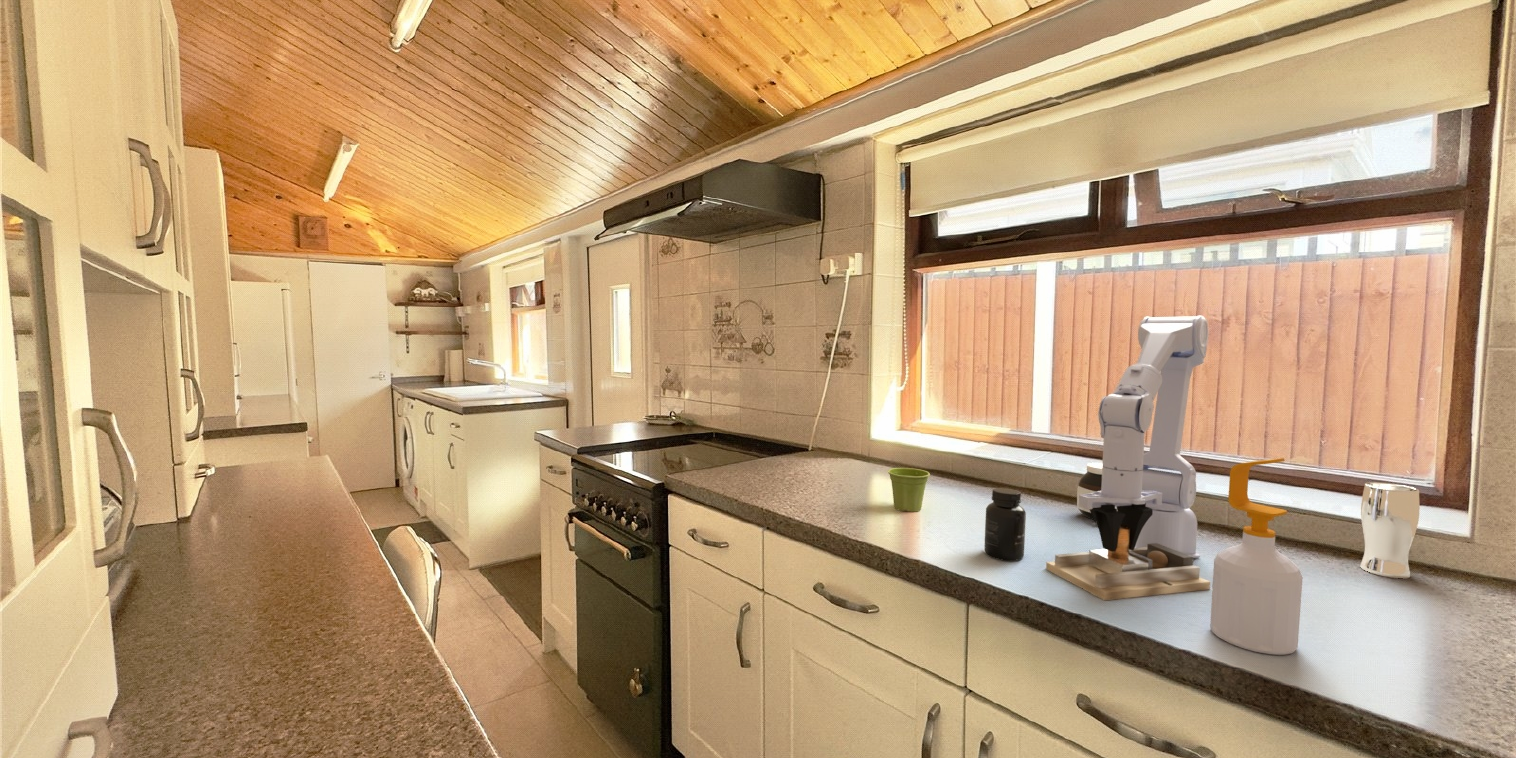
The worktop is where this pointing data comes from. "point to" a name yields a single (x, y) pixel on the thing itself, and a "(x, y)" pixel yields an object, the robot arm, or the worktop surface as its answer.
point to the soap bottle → (1255, 580)
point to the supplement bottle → (1005, 526)
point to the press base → (1132, 574)
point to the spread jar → (1090, 485)
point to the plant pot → (908, 488)
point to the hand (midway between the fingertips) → (1118, 548)
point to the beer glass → (1388, 527)
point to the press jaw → (1119, 556)
